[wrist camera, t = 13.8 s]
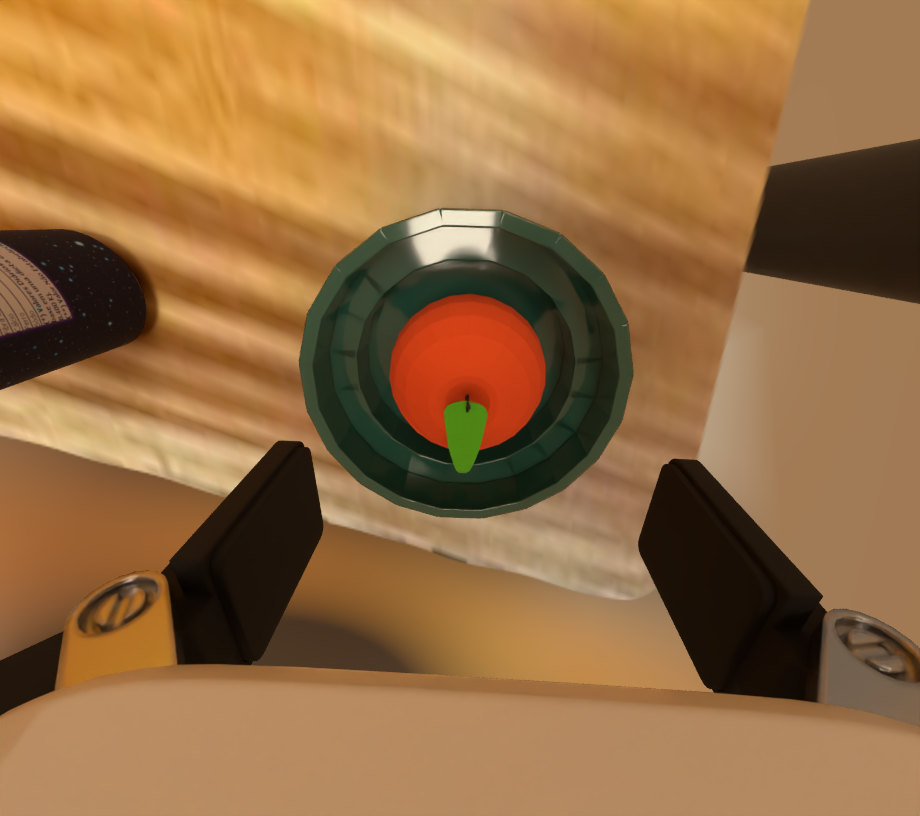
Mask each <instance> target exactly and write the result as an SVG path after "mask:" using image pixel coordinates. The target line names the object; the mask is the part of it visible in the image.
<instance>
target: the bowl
mask: <svg viewBox="0 0 920 816" xmlns="http://www.w3.org/2000/svg"><path fill="white" fill-rule="evenodd" d="M461 294H476V295H482V296H487V297H491V298H494V299H496V300H498V301H500V302H502V303H504V304H506V305H508V306H510V307H512V308H513V309H514V310H516V311H517V312H518V313H519V314H520V315H521V316H522V317H524V318H525V319H526V320H527V321H528V322H529V324H530V325H531V327H532V328H533V330H534V332H535V333H536V335H537V336H538V338H539V341H540V344H541V348H542V351H543V354H544V358H545V387H544V391H543V394H542V398H541V401H540V403H539V405H538V407H537V408H536V410H535V411H534V413H533V415H532V416H531V418H530V419H529V421H528V422H527V424H526V425H525V426H524V427H523V428H522V429H520V430H519V431H518V432H517V433H516V434H515V435H514V436H513V437H511V438H509V439H507V440H506V441H504V442H502V443H501V444H499V445H495V446H492V447H489V448H486V449H482V450H479V452H478V454H477V457H476V459H475V462H474V464H473V466H472V468H471V469H470V471H469V472H467V473H459V472H457V471H456V469H455V467H454V464H453V461H452V458H451V455H450V451H449V448H445V447H443V446H440V445H438V444H435V443H433V442H430V441H429V440H427V439H426V438H425V437H423V436H422V435H420V434H419V433H417V432H416V431H415V430H414V428H413V427H412V426H411V425H410V424H409V423H408V422H407V420H406V419H405V418H404V416H403V415H402V414H401V412H400V410H399V408H398V406H397V404H396V402H395V400H394V398H393V394H392V389H391V383H390V367H391V357H392V351H393V348H394V346H395V343H396V341H397V338H398V336H399V333H400V332H401V330H402V329H403V328H404V327H405V325H406V324H407V323H408V321H409V320H410V319H411V317H412V316H414V315H415V314H416V313H418V312H419V311H420V310H422V309H423V308H424V307H426V306H427V305H429V304H430V303H433V302H435V301H438V300H440V299H443V298H446V297H448V296H451V295H461ZM299 368H300V374H301V380H302V386H303V392H304V397H305V403H306V409H307V412H308V414H309V416H310V418H311V420H312V422H313V424H314V426H315V427H316V429H317V431H318V433H319V435H320V437H321V439H322V441H323V443H324V445H325V447H326V448H327V450H328V451H329V453H330V454H331V455H332V456H333V457H334V458H335V459H336V460H337V461H338V462H339V463H340V464H341V465H342V466H343V467H344V468H345V469H346V470H347V471H348V472H349V473H350V474H351V475H352V476H353V477H354V478H355V479H356V480H357V481H358V482H359V483H360V484H361V485H363V486H365V487H367V488H368V489H370V490H372V491H373V492H375V493H377V494H378V495H380V496H382V497H384V498H385V499H387V500H389V501H390V502H392V503H394V504H396V505H398V506H402V507H405V508H409V509H412V510H416V511H419V512H423V513H426V514H430V515H433V516H437V517H438V516H439V517H453V518H487V517H491V516H496V515H501V514H506V513H510V512H515V511H520V510H524V509H527V508H529V507H531V506H533V505H535V504H537V503H539V502H541V501H543V500H545V499H547V498H549V497H551V496H553V495H555V494H557V493H559V492H561V491H563V489H566V488H567V487H568V486H569V485H570V484H571V483H572V482H574V481H575V480H576V479H577V478H578V477H579V476H580V475H581V474H583V473H584V472H585V471H586V470H587V469H588V468H589V467H590V466H592V465H593V464H594V463H595V462H596V461H597V460H598V459H599V458H600V456H601V454H602V453H603V451H604V449H605V448H606V446H607V445H608V443H609V441H610V440H611V438H612V437H613V435H614V433H615V432H616V430H617V429H618V427H619V425H620V424H621V422H622V420H623V416H624V411H625V407H626V403H627V399H628V395H629V391H630V387H631V383H632V379H633V363H632V353H631V343H630V333H629V324H628V321H627V318H626V316H625V314H624V312H623V310H622V308H621V306H620V304H619V302H618V300H617V298H616V296H615V294H614V292H613V290H612V288H611V286H610V284H609V282H608V280H607V278H606V276H605V275H604V274H603V272H602V271H601V270H600V269H599V268H598V267H597V266H596V265H595V264H593V263H592V262H591V261H590V260H589V259H588V258H587V257H586V256H585V255H584V254H583V253H582V252H581V251H579V250H578V249H577V248H576V247H575V246H574V245H573V244H572V243H571V242H570V241H569V240H568V239H567V238H565V237H564V236H563V235H562V234H560V233H559V232H556V231H554V230H551V229H549V228H547V227H544V226H542V225H539V224H537V223H534V222H532V221H529V220H527V219H524V218H522V217H520V216H517V215H515V214H512V213H510V212H507V211H503V210H491V209H459V208H441V209H439V208H438V209H435V210H432V211H429V212H426V213H423V214H420V215H417V216H414V217H411V218H408V219H405V220H402V221H399V222H396V223H393V224H391V225H388V226H385V227H382V228H381V229H379V230H378V231H376V232H375V233H374V234H373V235H371V236H370V237H369V238H368V239H366V240H365V241H364V242H363V243H362V244H360V245H359V246H358V247H357V248H355V249H354V250H353V251H352V252H350V253H349V254H348V255H347V256H345V257H344V258H343V259H342V260H341V261H339V262H338V263H337V264H336V266H334V268H333V269H332V271H331V273H330V275H329V276H328V278H327V280H326V281H325V283H324V285H323V287H322V288H321V290H320V292H319V293H318V295H317V297H316V299H315V300H314V302H313V304H312V305H311V307H310V309H309V311H308V313H307V317H306V323H305V329H304V334H303V340H302V346H301V352H300V357H299Z"/></svg>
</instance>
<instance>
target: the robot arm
mask: <svg viewBox="0 0 920 816" xmlns="http://www.w3.org/2000/svg"><path fill="white" fill-rule="evenodd" d="M322 532H323V519H322V514H321V508H320V502H319V496H318V491H317V485H316V479H315V473H314V468H313V462H312V456H311V451H310V449H309V448H308V447H304V444H303V443H302V442H300V441H278V442H276V443H275V444H274V445H273V447H272V448H271V449H270V450H269V451H268V452H267V453H266V454H265V455H264V457H263V458H262V459H261V460H260V461H259V462H258V463H257V464H256V465H255V466H254V468H253V469H252V470H251V471H250V472H249V473H248V474H247V475H246V476H245V478H244V479H243V480H242V481H241V482H240V483H239V484H238V485H237V486H236V487H235V489H234V490H233V491H232V492H231V493H230V494H229V495H228V496H227V497H226V499H225V500H224V501H223V502H222V503H221V504H220V505H219V506H218V507H217V509H216V510H215V511H214V512H213V513H212V514H211V515H210V516H209V518H208V519H207V520H206V521H205V522H204V523H203V524H202V525H201V526H200V527H199V528H198V530H197V531H196V532H195V533H194V534H193V535H192V536H191V537H190V538H189V539H188V541H187V542H186V543H185V544H184V545H183V546H182V547H181V549H179V551H178V552H177V553H176V554H175V555H174V556H173V557H172V558H171V560H170V563H169V565H168V566H167V567H166V568H165V569H164V570H163V571H162V572H161V573H159V572H156V571H149V570H145V571H137V572H132V573H129V574H126V575H122V576H119V577H117V578H115V579H113V580H111V581H109V582H107V583H105V584H103V585H102V586H100V587H98V588H97V589H95V590H94V591H92V592H91V593H89V594H88V595H87V596H86V597H85V598H84V599H83V600H82V601H80V602H79V603H78V604H77V605H76V607H75V608H74V609H73V611H72V612H71V613H70V614H69V616H68V619H67V621H66V624H65V627H64V631H63V632H61V633H59V634H56V635H54V636H52V637H50V638H48V639H46V640H44V641H42V642H39V643H37V644H35V645H33V646H31V647H29V648H26V649H24V650H22V651H20V652H18V653H16V654H14V655H12V656H9V657H7V658H5V659H3V660H1V661H0V816H920V648H919V647H918V646H917V645H915V644H914V643H913V642H912V641H911V640H910V639H908V638H907V637H906V636H904V635H903V634H901V633H900V632H898V631H897V630H896V629H894V628H892V627H891V626H889V625H887V624H885V623H883V622H881V621H880V620H878V619H876V618H873V617H871V616H868V615H865V614H863V613H861V612H857V611H853V610H848V609H833V610H831V611H829V612H827V611H825V609H824V608H823V607H822V606H821V604H820V603H819V602H820V600H821V599H822V597H823V596H822V594H821V593H820V592H819V591H818V590H817V589H816V588H815V587H814V586H813V585H812V584H811V582H810V581H809V580H808V579H807V578H806V577H805V576H804V575H803V574H802V573H801V572H800V571H799V569H798V568H797V567H796V566H795V565H794V564H793V563H792V562H791V561H790V560H789V559H788V557H787V556H786V555H785V554H784V553H783V552H782V551H781V550H780V549H779V548H778V547H777V546H776V544H775V543H774V542H773V541H772V540H771V539H770V538H769V537H768V536H767V535H766V533H764V531H763V530H762V529H761V528H760V527H759V526H758V525H757V524H756V523H755V522H754V520H753V519H752V518H751V517H750V516H749V515H748V514H747V513H746V512H745V511H744V510H743V508H742V507H741V506H740V505H739V504H738V503H737V502H736V501H735V500H734V499H733V497H732V496H731V495H730V494H729V493H728V492H727V491H726V490H725V489H724V488H723V487H722V486H721V484H720V483H719V482H718V481H717V480H716V479H715V478H714V477H713V476H712V475H711V474H710V473H709V471H708V470H707V469H706V468H705V467H704V466H703V465H702V464H701V463H700V462H699V461H698V460H689V459H672V460H671V461H670V462H669V463H668V464H665V465H663V466H662V469H661V471H660V475H659V478H658V481H657V484H656V487H655V490H654V493H653V496H652V500H651V503H650V506H649V509H648V512H647V515H646V518H645V521H644V525H643V528H642V531H641V534H640V537H639V541H638V547H639V552H640V555H641V557H642V559H643V561H644V563H645V565H646V567H647V569H648V571H649V573H650V575H651V577H652V579H653V582H654V584H655V586H656V588H657V590H658V592H659V594H660V596H661V598H662V600H663V602H664V604H665V606H666V608H667V610H668V612H669V614H670V617H671V619H672V620H673V623H674V625H675V627H676V629H677V631H678V633H679V635H680V637H681V639H682V641H683V643H684V645H685V647H686V649H687V651H688V654H689V656H690V658H691V660H692V661H693V664H694V666H695V668H696V670H697V672H698V674H699V676H700V678H701V680H702V682H703V683H704V685H705V686H706V687H707V688H709V689H712V690H713V692H714V693H711V692H697V691H682V690H666V689H651V688H637V687H623V686H622V687H621V686H608V685H607V686H606V685H593V684H578V683H560V682H545V681H529V680H513V679H497V678H480V677H464V676H447V675H446V676H445V675H430V674H413V673H395V672H376V671H359V670H341V669H323V668H304V667H279V666H254V665H251V664H252V662H253V661H258V660H259V659H260V658H261V657H262V655H263V654H264V652H265V650H266V648H267V646H268V643H269V642H270V639H271V637H272V635H273V633H274V631H275V629H276V627H277V625H278V623H279V621H280V619H281V617H282V615H283V613H284V611H285V609H286V607H287V605H288V603H289V601H290V599H291V597H292V595H293V593H294V591H295V589H296V587H297V585H298V583H299V581H300V579H301V577H302V575H303V573H304V571H305V568H306V567H307V565H308V562H309V560H310V558H311V556H312V554H313V552H314V550H315V548H316V546H317V544H318V542H319V540H320V538H321V536H322Z"/></svg>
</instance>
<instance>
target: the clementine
mask: <svg viewBox="0 0 920 816" xmlns="http://www.w3.org/2000/svg"><path fill="white" fill-rule="evenodd" d="M390 383H391V389H392V394H393V398H394V400H395V402H396V404H397V406H398V408H399V410H400V412H401V414H402V415H403V416H404V418H405V419H406V420H407V422H408V423H409V424H410V425H411V426H412V427H413V428H414V430H415V431H416V432H417V433H419V434H420V435H422V436H423V437H425V438H426V439H427V440H429V441H430V442H433V443H435V444H438V445H440V446H443V447H445V448H449V451H450V455H451V458H452V461H453V464H454V467H455V469H456V471H457V472H459V473H467V472H469V471H470V469H471V468H472V466H473V464H474V462H475V459H476V457H477V454H478V452H479V450H482V449H486V448H489V447H492V446H495V445H499V444H501V443H502V442H504V441H506V440H507V439H509V438H511V437H513V436H514V435H515V434H516V433H517V432H518V431H519V430H520V429H522V428H523V427H524V426H525V425H526V424H527V422H528V421H529V419H530V418H531V416H532V415H533V413H534V411H535V410H536V408H537V407H538V405H539V403H540V401H541V398H542V394H543V391H544V387H545V358H544V354H543V351H542V348H541V344H540V341H539V338H538V336H537V335H536V333H535V332H534V330H533V328H532V327H531V325H530V324H529V322H528V321H527V320H526V319H525V318H524V317H522V316H521V315H520V314H519V313H518V312H517V311H516V310H514V309H513V308H512V307H510V306H508V305H506V304H504V303H502V302H500V301H498V300H496V299H494V298H491V297H487V296H482V295H476V294H461V295H451V296H448V297H446V298H443V299H440V300H438V301H435V302H433V303H430V304H429V305H427V306H426V307H424V308H423V309H422V310H420V311H419V312H418V313H416V314H415V315H414V316H412V317H411V319H410V320H409V321H408V323H407V324H406V325H405V327H404V328H403V329H402V330H401V332H400V333H399V336H398V338H397V341H396V343H395V346H394V348H393V351H392V357H391V367H390Z"/></svg>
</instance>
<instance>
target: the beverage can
mask: <svg viewBox="0 0 920 816" xmlns="http://www.w3.org/2000/svg"><path fill="white" fill-rule="evenodd" d="M145 320H146V304H145V299H144V296H143V292H142V289H141V286H140V284H139V282H138V280H137V279H136V277H135V276H134V274H133V273H132V272H131V270H130V269H129V268H128V266H127V265H126V264H125V263H124V262H123V261H122V260H121V259H120V258H119V257H118V256H117V255H116V254H115V253H114V252H113V251H112V250H110V249H109V248H108V247H106V246H105V245H104V244H102V243H101V242H99V241H97V240H95V239H94V238H92V237H89V236H87V235H85V234H82V233H79V232H76V231H71V230H64V229H51V230H5V231H0V390H2V389H4V388H7V387H10V386H13V385H15V384H18V383H21V382H24V381H26V380H29V379H32V378H35V377H37V376H40V375H43V374H46V373H49V372H51V371H54V370H57V369H60V368H62V367H65V366H68V365H71V364H73V363H76V362H79V361H82V360H84V359H87V358H90V357H93V356H95V355H98V354H101V353H104V352H106V351H109V350H112V349H115V348H118V347H120V346H123V345H126V344H128V343H130V342H132V341H133V340H134V339H136V338H137V337H138V335H139V334H140V333H141V331H142V329H143V327H144V324H145Z"/></svg>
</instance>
